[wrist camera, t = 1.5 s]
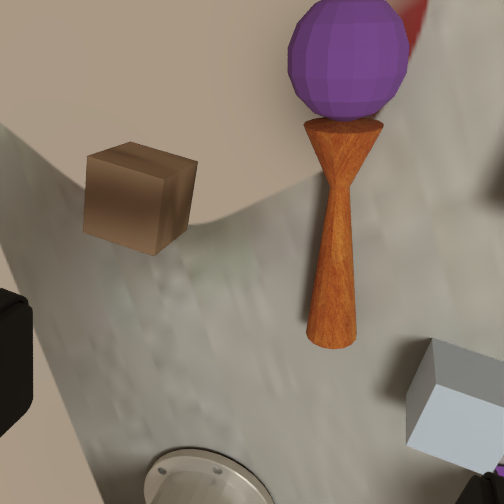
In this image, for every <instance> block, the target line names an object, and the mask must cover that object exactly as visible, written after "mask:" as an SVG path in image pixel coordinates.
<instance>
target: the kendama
mask: <svg viewBox="0 0 504 504" xmlns="http://www.w3.org/2000/svg"><path fill="white" fill-rule="evenodd" d="M408 55H409V42H408V39H407V35H406V31H405V28H404V24H403V21H402V19H401V18H400V17H399V16H398V14H397V13H396V12H395V11H394V10H393V9H392V8H391V6H390V5H389V4H388V3H387V1H385V0H321V1H319V2H317V3H315V4H314V5H313V6H312V7H311V8H310V10H309V11H308V12H307V13H306V14H305V15H304V16H303V17H302V19H301V20H300V21H299V22H298V23H297V25H296V28H295V30H294V33H293V35H292V38H291V41H290V43H289V46H288V75H289V77H290V80H291V82H292V85H293V88H294V90H295V93H296V95H297V96H298V97H299V98H300V99H301V100H302V101H303V102H304V103H305V104H306V105H307V106H308V107H309V108H310V109H311V110H312V111H313V112H314V113H316V114H318V115H321V116H324V117H323V118H316V119H312V120H309V121H306V122H305V124H304V127H305V130H306V132H307V134H308V136H309V139H310V141H311V144H312V146H313V148H314V150H315V153H316V155H317V157H318V160H319V162H320V164H321V167H322V169H323V171H324V174H325V176H326V178H327V181H328V183H329V185H330V190H329V196H328V202H327V208H326V214H325V220H324V226H323V232H322V238H321V244H320V250H319V257H318V263H317V269H316V275H315V281H314V287H313V293H312V299H311V305H310V311H309V317H308V323H307V329H306V334H307V337H308V339H309V340H310V341H311V342H313V343H314V344H316V345H318V346H320V347H322V348H329V349H340V348H345V347H347V346H349V345H351V344H352V343H353V342H354V341H355V340H356V335H357V331H356V311H355V290H354V270H353V250H352V229H351V209H350V188H349V187H350V185H351V183H352V182H353V180H354V178H355V176H356V175H357V173H358V171H359V169H360V168H361V166H362V164H363V162H364V160H365V159H366V157H367V155H368V153H369V152H370V150H371V148H372V146H373V144H374V143H375V141H376V139H377V137H378V136H379V134H380V132H381V130H382V129H383V125H384V124H383V123H381V122H380V121H377V120H373V119H369V118H362V117H365V116H368V115H370V114H373V113H376V112H377V111H378V110H379V109H381V108H382V107H383V106H384V105H385V104H386V103H387V102H388V101H390V100H391V99H392V98H393V97H394V96H395V94H396V92H397V90H398V88H399V86H400V85H401V83H402V81H403V79H404V77H405V75H406V72H407V63H408Z"/></svg>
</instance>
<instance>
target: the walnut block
mask: <svg viewBox="0 0 504 504" xmlns="http://www.w3.org/2000/svg"><path fill="white" fill-rule="evenodd" d="M197 165H198V161H195V160H191V159H188V158H185V157H181V156H178V155H175V154H171V153H168V152H164V151H161V150H157V149H154V148H151V147H147V146H144V145H140V144H137V143H134V142H128V143H125V144H122V145H119V146H116V147H113V148H110V149H107V150H104V151H101V152H98V153H95V154H92V155H89V156H87V169H86V170H87V171H86V187H85V206H84V225H83V232H84V233H87V234H90V235H93V236H96V237H99V238H102V239H105V240H108V241H111V242H114V243H117V244H120V245H122V246H125V247H128V248H131V249H134V250H137V251H140V252H143V253H146V254H149V255H152V256H155V255H156V254H158V253H159V252H160V251H161V250H163V249H164V248H165V247H166V246H167V245H169V244H170V243H171V242H172V241H174V240H175V239H176V238H177V237H178V236H180V235H181V234H182V233H183V232H185V231H186V230H187V225H188V222H189V215H190V209H191V203H192V197H193V190H194V183H195V178H196V171H197Z"/></svg>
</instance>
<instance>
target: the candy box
mask: <svg viewBox="0 0 504 504" xmlns="http://www.w3.org/2000/svg"><path fill="white" fill-rule="evenodd" d="M492 473H495V474H498V475H500V476H503V477H504V467H503V466H496V468H495V469H494V471H493V472H492Z"/></svg>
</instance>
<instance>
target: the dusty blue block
mask: <svg viewBox="0 0 504 504" xmlns="http://www.w3.org/2000/svg"><path fill="white" fill-rule="evenodd" d="M406 446H408V447H411V448H414V449H416V450H419V451H421V452H424V453H427V454H429V455H432V456H435V457H437V458H440V459H443V460H445V461H448V462H451V463H453V464H456V465H459V466H461V467H464V468H467V469H469V470H472V471H474V472H477V473H480V474H482V475H484V473H486V472H493V471H494V469H495V468H496V466H497V464H498V463H499V461H500V460H501V458H502V456H503V455H504V362H503V361H500V360H497V359H494V358H491V357H488V356H485V355H482V354H479V353H476V352H473V351H470V350H467V349H464V348H461V347H458V346H455V345H452V344H449V343H446V342H443V341H440V340H437V339H434V338H432V339H431V341H430V344H429V346H428V348H427V350H426V352H425V354H424V357H423V359H422V361H421V363H420V365H419V367H418V370H417V372H416V374H415V376H414V378H413V381H412V383H411V385H410V387H409V389H408V391H407V394H406Z"/></svg>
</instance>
